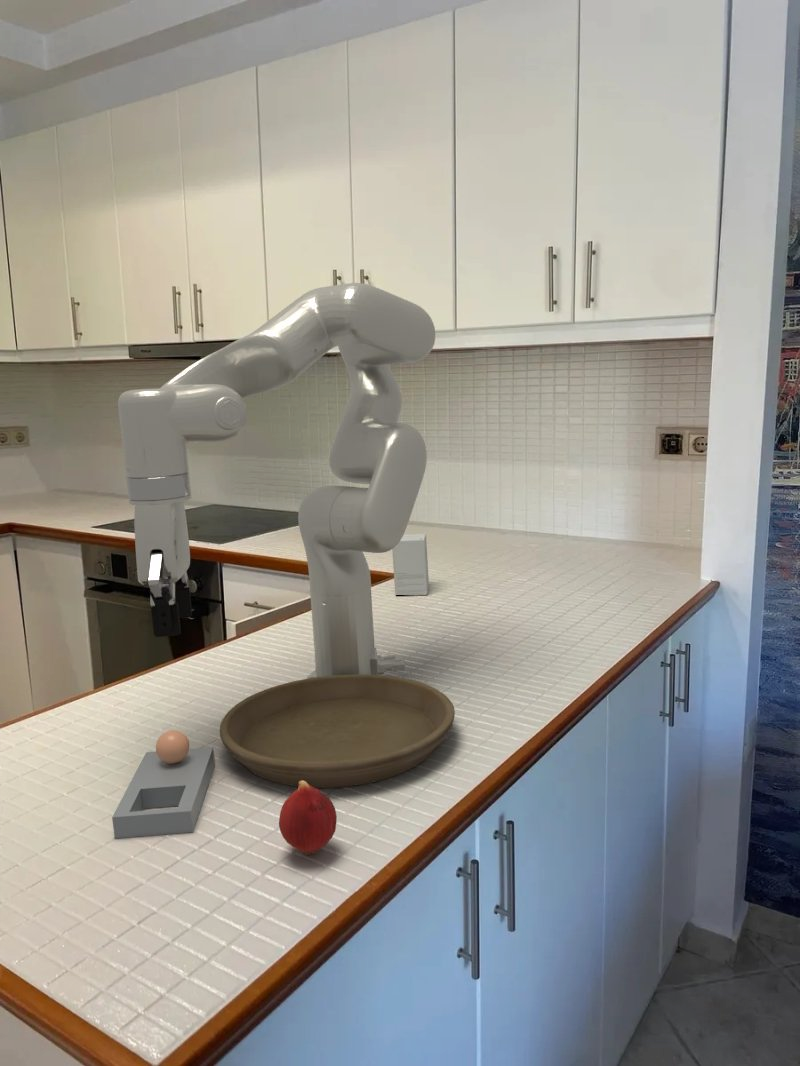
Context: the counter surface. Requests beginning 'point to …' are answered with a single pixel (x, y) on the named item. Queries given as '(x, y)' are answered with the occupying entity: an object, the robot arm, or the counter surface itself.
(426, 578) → the supplement box
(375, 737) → the plant saucer
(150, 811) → the block
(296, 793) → the onion
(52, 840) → the counter surface
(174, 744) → the ball
